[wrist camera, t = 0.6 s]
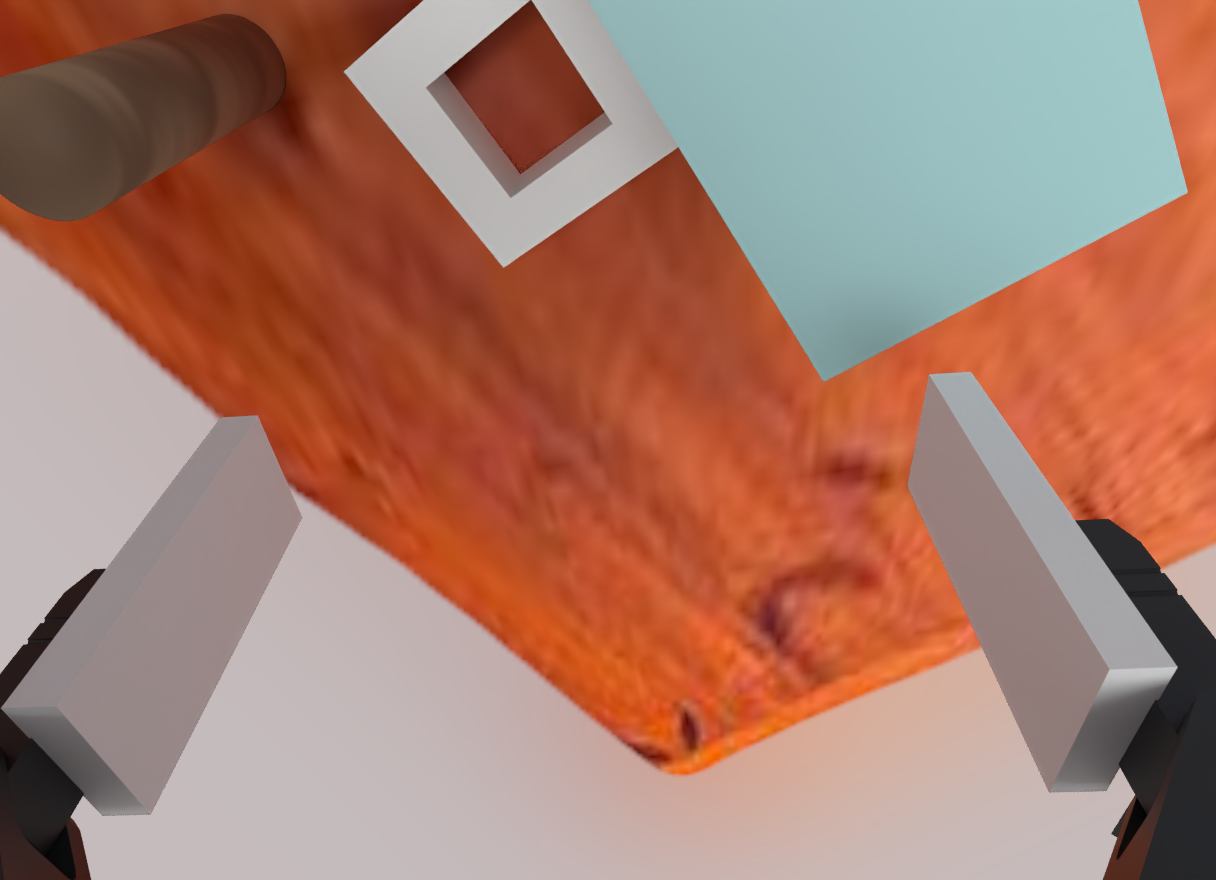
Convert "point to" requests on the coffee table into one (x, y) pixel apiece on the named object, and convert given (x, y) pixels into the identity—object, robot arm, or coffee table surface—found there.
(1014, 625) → the robot arm
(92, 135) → the peg
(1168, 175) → the station
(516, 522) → the coffee table surface
